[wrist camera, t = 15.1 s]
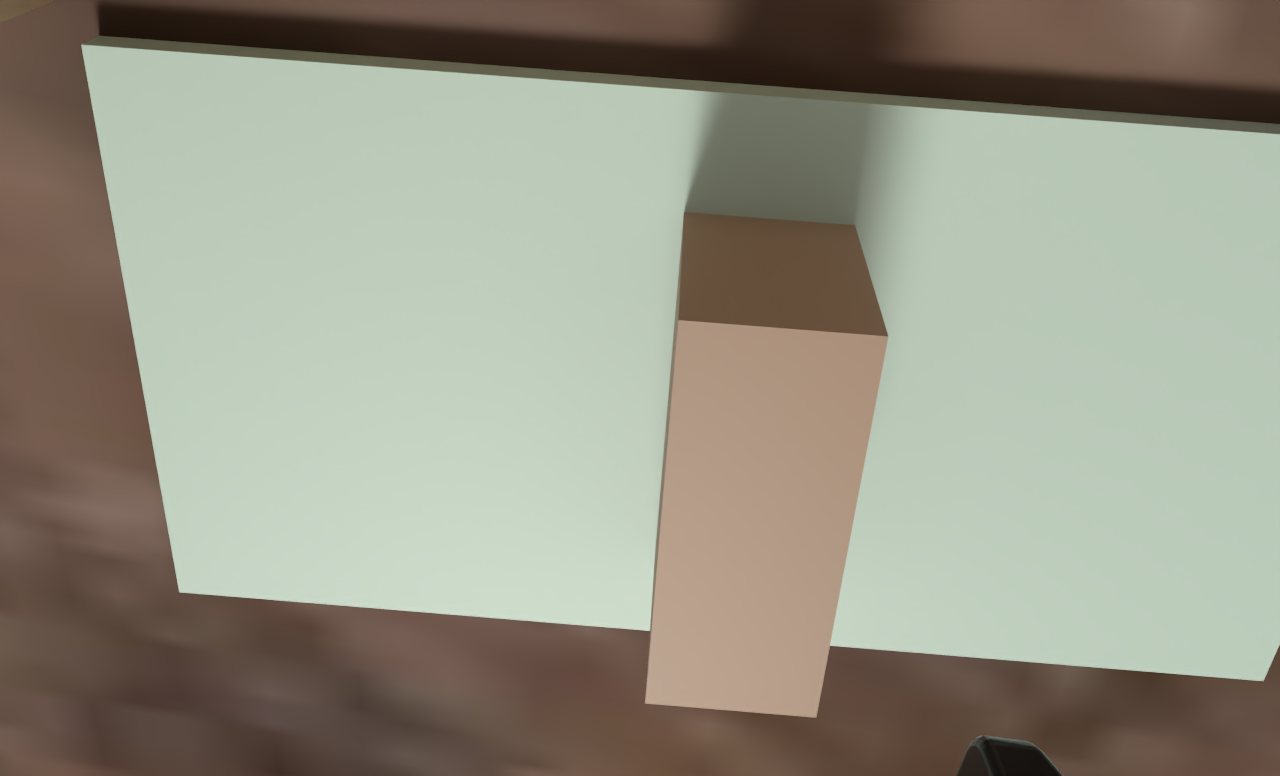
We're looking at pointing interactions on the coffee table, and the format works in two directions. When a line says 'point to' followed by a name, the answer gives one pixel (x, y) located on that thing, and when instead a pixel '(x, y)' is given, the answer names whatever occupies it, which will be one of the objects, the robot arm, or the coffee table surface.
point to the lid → (706, 360)
